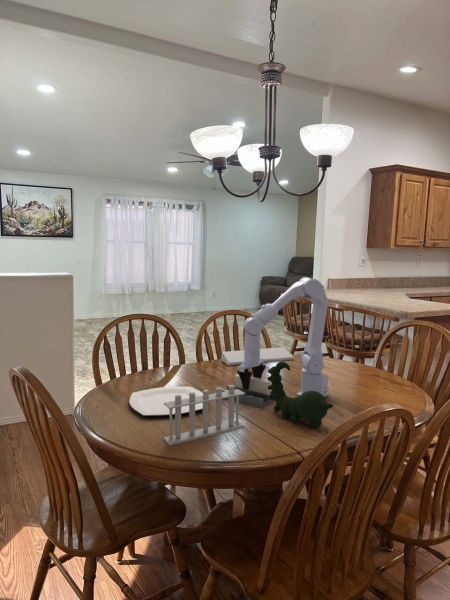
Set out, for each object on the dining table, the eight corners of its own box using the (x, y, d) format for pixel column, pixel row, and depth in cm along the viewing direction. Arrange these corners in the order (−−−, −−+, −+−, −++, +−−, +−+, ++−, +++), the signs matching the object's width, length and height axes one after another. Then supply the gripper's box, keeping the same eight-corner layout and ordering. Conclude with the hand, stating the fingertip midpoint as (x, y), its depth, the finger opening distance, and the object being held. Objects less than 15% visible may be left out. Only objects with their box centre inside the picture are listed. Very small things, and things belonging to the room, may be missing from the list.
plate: (124, 396, 157) (124, 391, 157) (194, 388, 167) (194, 383, 167) (136, 424, 133) (136, 418, 132) (218, 413, 142) (218, 408, 142)
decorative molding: (291, 365, 212) (282, 355, 221) (293, 356, 210) (284, 347, 219) (228, 371, 200) (220, 360, 209) (229, 362, 198) (222, 351, 207)
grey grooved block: (282, 395, 160) (283, 387, 160) (261, 408, 147) (261, 399, 146) (242, 385, 170) (242, 378, 170) (218, 396, 157) (218, 389, 157)
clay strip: (270, 396, 155) (270, 380, 154) (266, 398, 153) (267, 382, 152) (238, 389, 163) (238, 373, 162) (234, 390, 161) (234, 375, 160)
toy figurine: (262, 418, 143) (324, 437, 123) (260, 361, 142) (322, 372, 122) (282, 411, 149) (343, 429, 129) (280, 357, 148) (341, 367, 128)
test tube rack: (236, 422, 135) (237, 382, 133) (244, 427, 131) (245, 386, 129) (163, 440, 122) (163, 395, 120) (169, 446, 118) (169, 400, 117)
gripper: (253, 345, 165) (252, 379, 166) (231, 352, 153) (231, 389, 154) (269, 348, 161) (268, 383, 162) (248, 355, 149) (247, 393, 150)
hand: (251, 386), depth 158 cm, fingers open, 7 cm apart
